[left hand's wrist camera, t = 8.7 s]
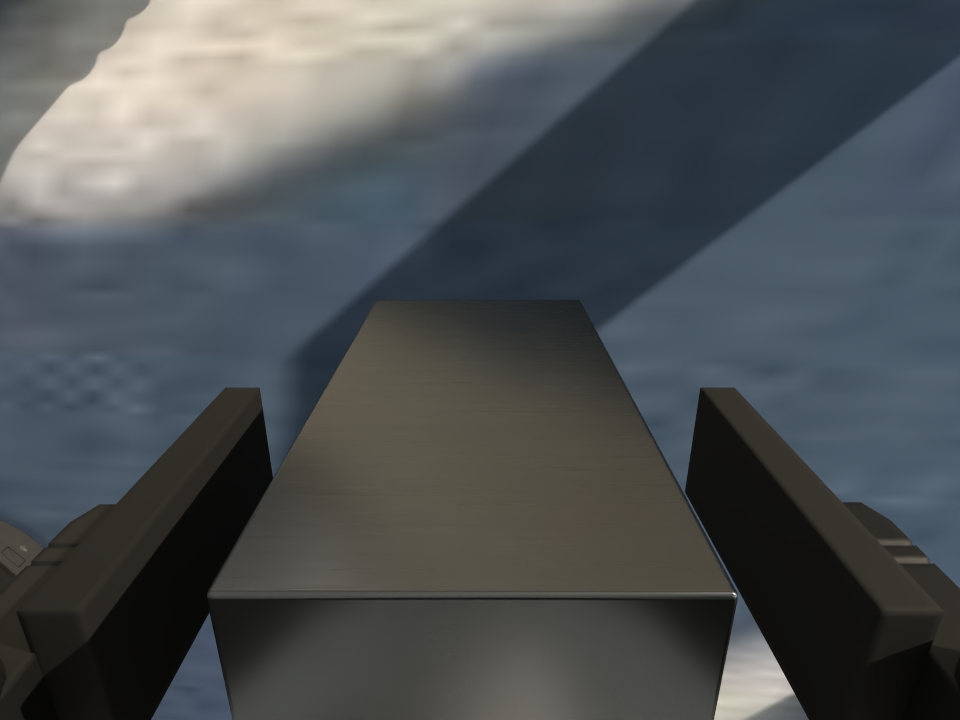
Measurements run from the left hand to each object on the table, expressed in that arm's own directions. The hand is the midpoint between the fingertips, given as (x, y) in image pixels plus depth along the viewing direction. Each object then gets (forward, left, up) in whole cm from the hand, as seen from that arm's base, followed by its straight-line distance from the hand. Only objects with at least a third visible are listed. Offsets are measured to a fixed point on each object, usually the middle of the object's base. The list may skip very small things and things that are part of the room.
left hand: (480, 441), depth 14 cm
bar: (0, +10, -2) cm, 10 cm away
